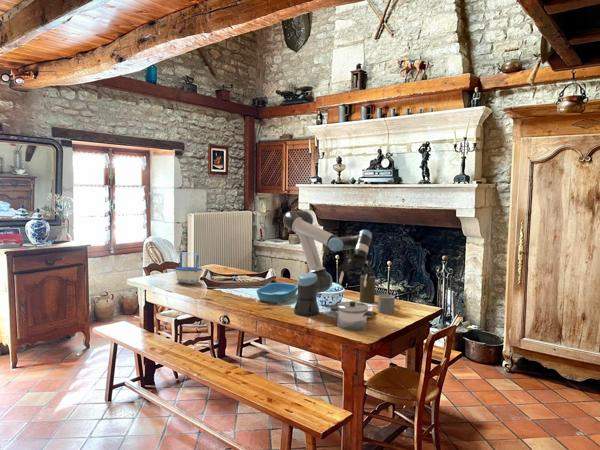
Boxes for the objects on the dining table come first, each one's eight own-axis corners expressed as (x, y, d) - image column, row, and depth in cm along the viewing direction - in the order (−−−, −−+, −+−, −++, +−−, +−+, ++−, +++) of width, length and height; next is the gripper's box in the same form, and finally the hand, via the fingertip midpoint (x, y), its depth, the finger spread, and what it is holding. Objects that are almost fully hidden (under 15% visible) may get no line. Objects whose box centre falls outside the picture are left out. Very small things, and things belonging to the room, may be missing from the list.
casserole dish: (281, 305, 271) (282, 294, 270) (251, 301, 279) (251, 291, 278) (302, 294, 305) (302, 284, 305) (274, 290, 313) (274, 281, 313)
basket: (204, 283, 331) (205, 253, 329) (187, 286, 318) (187, 255, 316) (188, 279, 344) (189, 250, 342) (171, 282, 331) (171, 252, 329)
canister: (374, 303, 283) (375, 274, 281) (358, 302, 285) (360, 273, 283) (374, 300, 293) (376, 271, 292) (359, 298, 295) (361, 270, 294)
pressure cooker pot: (326, 326, 229) (327, 308, 228) (336, 319, 243) (336, 302, 243) (369, 333, 220) (369, 314, 219) (375, 325, 234) (376, 307, 234)
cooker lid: (332, 309, 226) (333, 303, 226) (342, 302, 242) (342, 296, 242) (363, 314, 220) (364, 307, 219) (371, 306, 236) (371, 300, 236)
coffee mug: (392, 314, 257) (393, 298, 256) (376, 312, 261) (376, 296, 260) (396, 309, 269) (396, 294, 269) (380, 307, 273) (381, 292, 272)
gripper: (383, 259, 237) (375, 290, 225) (340, 255, 247) (331, 285, 234) (381, 251, 232) (374, 282, 219) (338, 247, 242) (328, 277, 229)
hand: (352, 284), depth 227 cm, fingers open, 13 cm apart
